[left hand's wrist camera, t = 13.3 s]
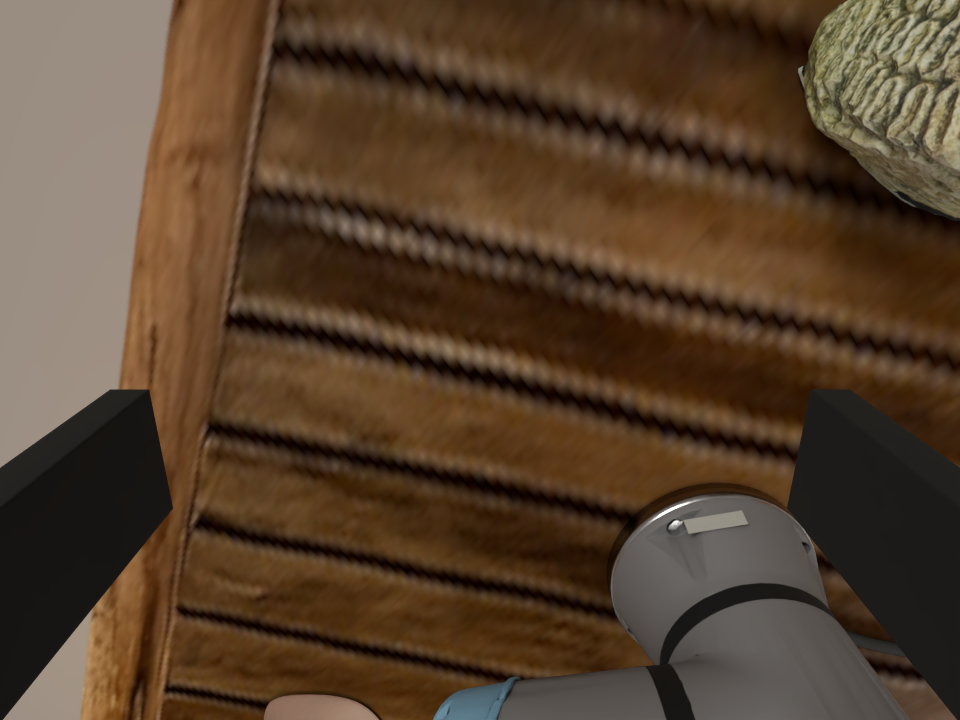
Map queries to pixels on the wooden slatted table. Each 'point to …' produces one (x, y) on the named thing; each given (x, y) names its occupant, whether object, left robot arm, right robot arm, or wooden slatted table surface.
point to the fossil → (893, 94)
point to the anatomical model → (316, 708)
